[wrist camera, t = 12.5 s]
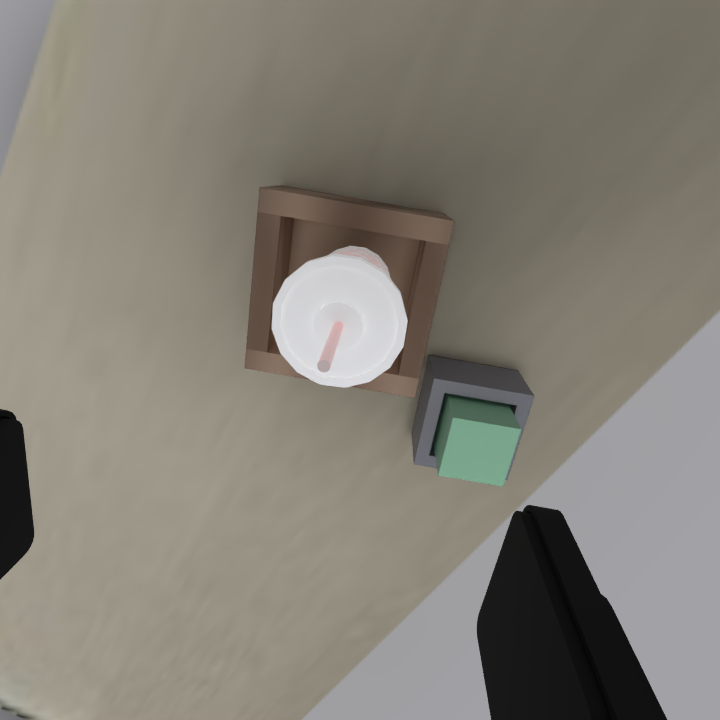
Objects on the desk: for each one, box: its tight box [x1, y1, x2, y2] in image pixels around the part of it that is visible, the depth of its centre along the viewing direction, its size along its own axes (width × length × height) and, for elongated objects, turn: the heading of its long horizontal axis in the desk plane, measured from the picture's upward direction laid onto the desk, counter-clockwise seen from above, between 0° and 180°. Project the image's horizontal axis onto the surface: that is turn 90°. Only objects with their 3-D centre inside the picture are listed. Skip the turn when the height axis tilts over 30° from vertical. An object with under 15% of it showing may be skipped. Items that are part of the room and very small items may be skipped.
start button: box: [433, 393, 521, 486], centre depth 30 cm, size 4×4×5 cm
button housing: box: [412, 355, 534, 480], centre depth 32 cm, size 6×6×4 cm
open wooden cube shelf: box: [245, 186, 454, 398], centre depth 29 cm, size 10×10×5 cm
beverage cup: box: [272, 246, 408, 388], centre depth 24 cm, size 6×6×14 cm
